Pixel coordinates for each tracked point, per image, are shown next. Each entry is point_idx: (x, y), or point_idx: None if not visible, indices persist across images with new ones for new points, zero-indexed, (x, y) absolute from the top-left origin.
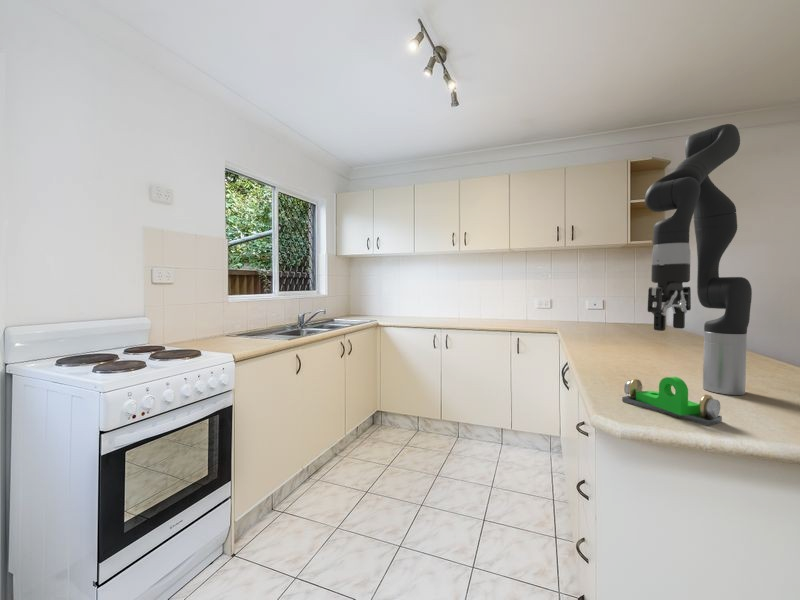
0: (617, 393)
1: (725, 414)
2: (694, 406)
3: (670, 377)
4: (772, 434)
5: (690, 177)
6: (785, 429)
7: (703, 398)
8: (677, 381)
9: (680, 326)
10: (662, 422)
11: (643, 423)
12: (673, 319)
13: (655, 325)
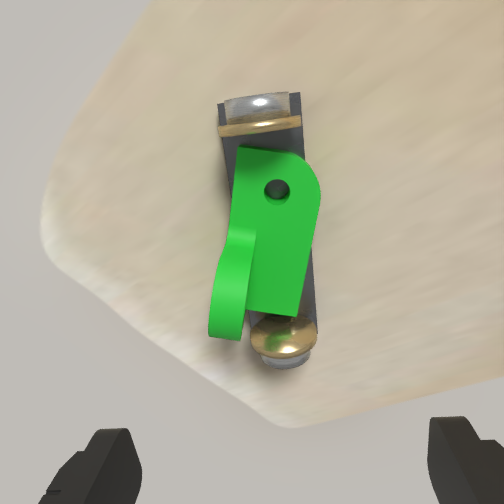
0: (301, 4)
1: (394, 301)
2: (269, 311)
3: (214, 315)
4: (328, 396)
5: None
6: (392, 394)
7: (263, 352)
8: (213, 335)
9: (435, 475)
10: (169, 278)
11: (116, 266)
12: (472, 500)
13: (59, 484)
